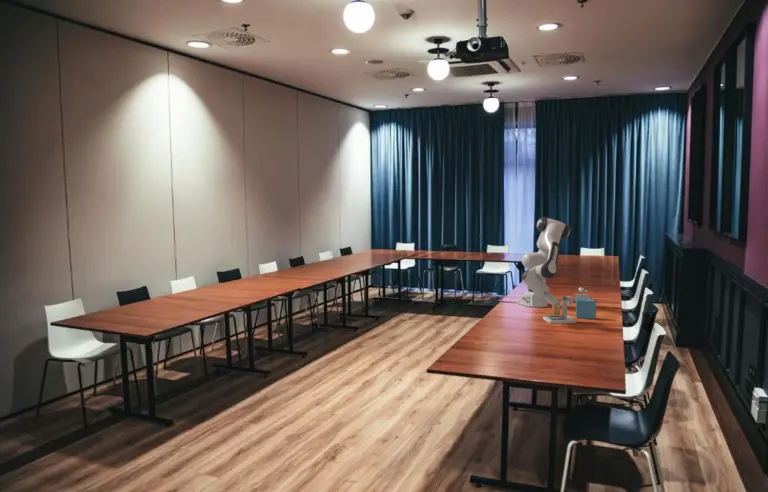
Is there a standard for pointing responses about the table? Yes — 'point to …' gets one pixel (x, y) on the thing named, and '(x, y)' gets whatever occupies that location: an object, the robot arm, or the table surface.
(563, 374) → the table surface
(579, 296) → the toy car
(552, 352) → the table surface
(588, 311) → the data package
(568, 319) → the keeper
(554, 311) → the wooden square pillar
